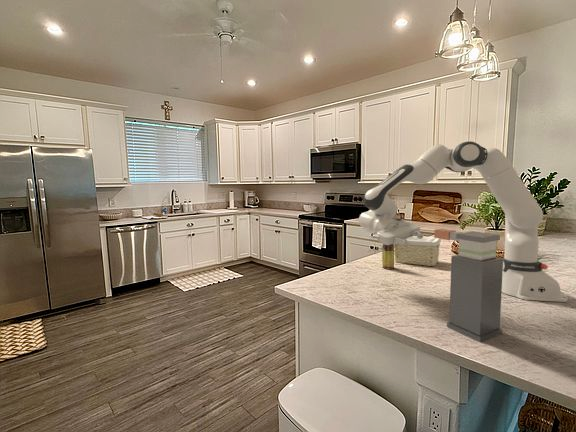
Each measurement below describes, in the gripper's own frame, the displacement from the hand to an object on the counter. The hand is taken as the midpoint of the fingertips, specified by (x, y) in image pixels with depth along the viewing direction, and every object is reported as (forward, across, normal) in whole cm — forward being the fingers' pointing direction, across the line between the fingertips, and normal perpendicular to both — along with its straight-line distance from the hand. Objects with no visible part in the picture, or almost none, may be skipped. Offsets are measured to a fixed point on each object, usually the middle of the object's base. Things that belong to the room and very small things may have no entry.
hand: (414, 239), depth 122 cm
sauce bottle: (-31, +21, +35) cm, 51 cm away
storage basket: (-31, +44, +38) cm, 66 cm away
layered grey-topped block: (+26, -8, +11) cm, 29 cm away
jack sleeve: (+32, -9, +18) cm, 38 cm away
